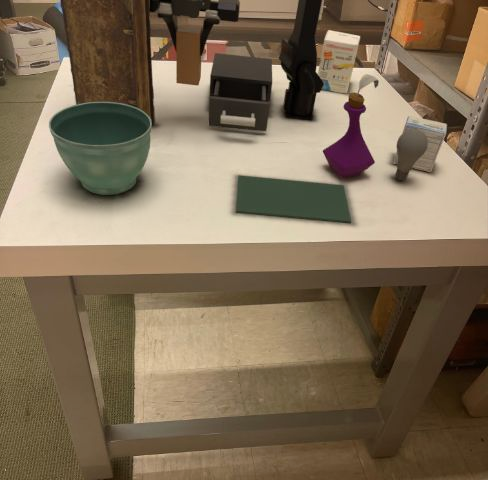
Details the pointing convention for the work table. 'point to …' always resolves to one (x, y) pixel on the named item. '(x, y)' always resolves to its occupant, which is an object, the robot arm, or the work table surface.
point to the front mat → (292, 199)
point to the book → (110, 51)
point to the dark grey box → (241, 71)
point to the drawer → (239, 106)
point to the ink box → (338, 60)
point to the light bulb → (409, 151)
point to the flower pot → (103, 144)
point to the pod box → (188, 54)
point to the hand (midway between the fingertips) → (189, 53)
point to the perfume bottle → (352, 138)
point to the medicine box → (434, 136)
